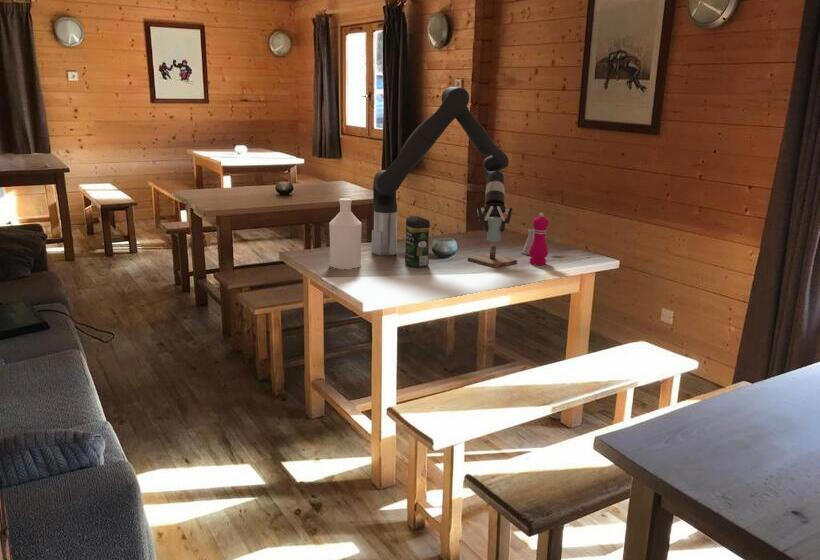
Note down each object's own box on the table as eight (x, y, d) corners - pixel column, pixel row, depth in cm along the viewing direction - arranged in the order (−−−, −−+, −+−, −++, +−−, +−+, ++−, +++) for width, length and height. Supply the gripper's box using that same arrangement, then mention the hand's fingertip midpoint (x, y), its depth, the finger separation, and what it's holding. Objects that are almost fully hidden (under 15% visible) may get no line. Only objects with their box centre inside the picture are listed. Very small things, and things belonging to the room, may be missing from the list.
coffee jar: (401, 262, 259) (402, 214, 254) (420, 261, 262) (421, 213, 258) (412, 268, 251) (413, 219, 246) (431, 267, 254) (433, 218, 249)
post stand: (494, 267, 255) (494, 251, 254) (467, 260, 266) (468, 245, 264) (516, 263, 263) (517, 247, 262) (490, 256, 274) (491, 241, 272)
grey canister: (493, 242, 259) (495, 219, 256) (483, 240, 263) (484, 217, 260) (503, 240, 262) (504, 217, 260) (493, 238, 266) (494, 215, 264)
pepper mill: (540, 260, 268) (544, 210, 263) (550, 264, 262) (554, 213, 257) (524, 261, 266) (528, 211, 260) (534, 266, 259) (538, 214, 254)
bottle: (359, 261, 259) (359, 196, 253) (363, 269, 248) (364, 201, 242) (328, 262, 257) (327, 196, 250) (331, 270, 246) (330, 201, 239)
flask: (540, 256, 277) (542, 232, 274) (522, 255, 277) (524, 231, 274) (537, 252, 284) (539, 228, 281) (520, 251, 284) (521, 228, 281)
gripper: (477, 189, 265) (476, 224, 257) (514, 190, 264) (514, 226, 256) (476, 200, 272) (475, 235, 263) (512, 201, 271) (512, 237, 262)
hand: (494, 230), depth 260 cm, fingers closed on grey canister, 5 cm apart
